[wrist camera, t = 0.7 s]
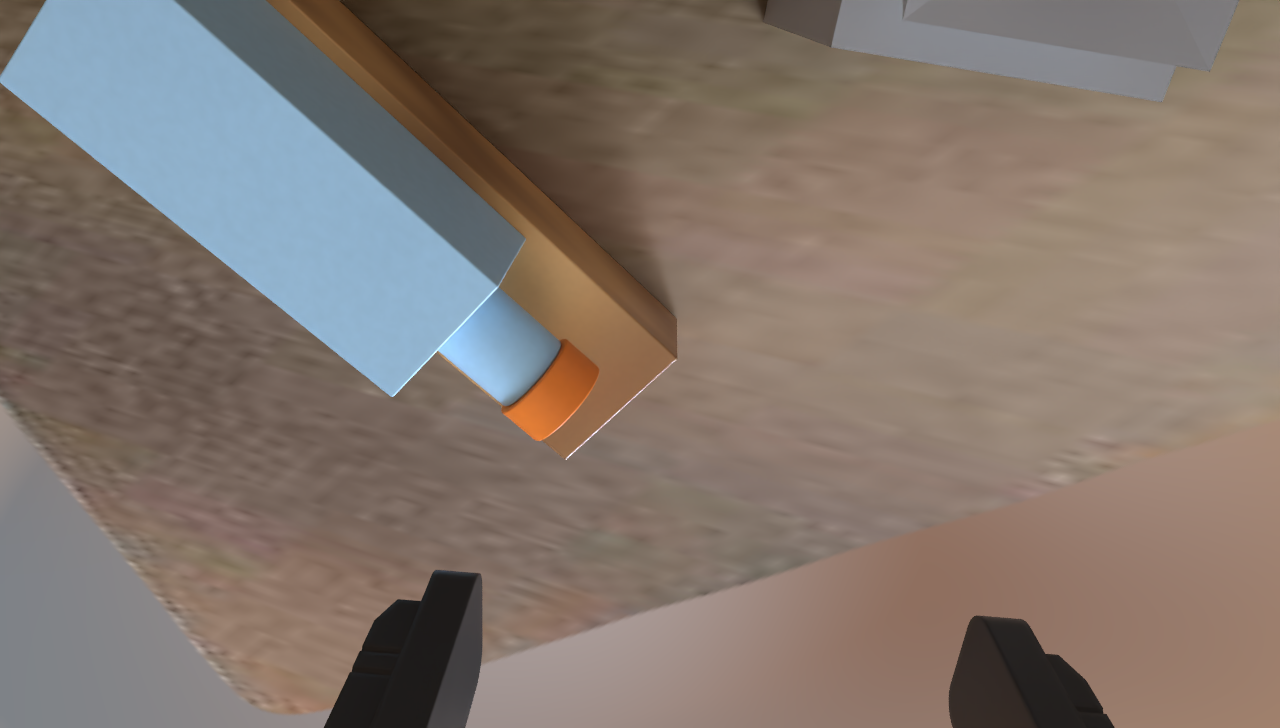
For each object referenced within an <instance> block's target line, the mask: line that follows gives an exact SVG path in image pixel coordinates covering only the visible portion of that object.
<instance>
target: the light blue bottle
mask: <svg viewBox="0 0 1280 728" xmlns="http://www.w3.org/2000/svg"><path fill="white" fill-rule="evenodd" d="M0 83H1V84H3V85H4V86H5V87H6V88H8V89H9V90H10V91H11V92H13V93H14V94H15V95H16V96H17V97H19V98H20V99H21V100H22V101H24V102H25V103H26V104H27V105H29V106H30V107H31V108H32V109H34V110H35V111H36V112H37V113H39V114H40V115H41V116H42V117H44V118H45V119H46V120H47V121H49V122H50V123H51V124H52V125H54V126H55V127H56V128H57V129H59V130H60V131H61V132H62V133H64V134H65V135H66V136H67V137H69V138H70V139H71V140H72V141H73V142H75V143H76V144H77V145H78V146H80V147H81V148H82V149H83V150H85V151H86V152H87V153H88V154H90V155H91V156H92V157H93V158H95V159H96V160H97V161H98V162H100V163H101V164H102V165H103V166H105V167H106V168H107V169H108V170H110V171H111V172H112V173H113V174H115V175H116V176H117V177H118V178H120V179H121V180H122V181H123V182H124V183H126V184H127V185H128V186H129V187H131V188H132V189H133V190H134V191H136V192H137V193H138V194H139V195H141V196H142V197H143V198H144V199H146V200H147V201H148V202H149V203H151V204H152V205H153V206H154V207H156V208H157V209H158V210H159V211H161V212H162V213H163V214H164V215H166V216H167V217H168V218H169V219H171V220H172V221H173V222H174V223H176V224H177V225H178V226H179V227H180V228H182V229H183V230H184V231H185V232H187V233H188V234H189V235H190V236H192V237H193V238H194V239H195V240H197V241H198V242H199V243H200V244H202V245H203V246H204V247H205V248H207V249H208V250H209V251H210V252H212V253H213V254H214V255H215V256H217V257H218V258H219V259H220V260H222V261H223V262H224V263H225V264H227V265H228V266H229V267H230V268H232V269H233V270H234V271H235V272H236V273H238V274H239V275H240V276H241V277H243V278H244V279H245V280H246V281H248V282H249V283H250V284H251V285H253V286H254V287H255V288H256V289H258V290H259V291H260V292H261V293H263V294H264V295H265V296H266V297H268V298H269V299H270V300H271V301H273V302H274V303H275V304H276V305H278V306H279V307H280V308H281V309H283V310H284V311H285V312H286V313H288V314H289V315H290V316H291V317H292V318H294V319H295V320H296V321H297V322H299V323H300V324H301V325H302V326H304V327H305V328H306V329H307V330H309V331H310V332H311V333H312V334H314V335H315V336H316V337H317V338H319V339H320V340H321V341H322V342H324V343H325V344H326V345H327V346H329V347H330V348H331V349H332V350H334V351H335V352H336V353H337V354H339V355H340V356H341V357H342V358H343V359H345V360H346V361H347V362H348V363H350V364H351V365H352V366H353V367H355V368H356V369H357V370H358V371H360V372H361V373H362V374H363V375H365V376H366V377H367V378H368V379H370V380H371V381H372V382H373V383H375V384H376V385H377V386H378V387H380V388H381V389H382V390H383V391H385V392H386V393H387V394H388V395H390V396H391V397H393V396H394V395H395V394H396V393H397V392H398V391H399V390H400V389H401V388H402V387H403V386H404V385H405V384H406V383H407V382H408V381H409V380H410V379H411V378H412V377H413V376H414V375H415V374H416V373H417V371H418V370H419V369H420V368H421V367H422V366H423V365H424V364H425V363H426V362H427V361H428V360H429V359H430V358H431V357H432V356H433V355H434V354H435V353H436V352H437V351H439V352H440V353H441V354H442V355H444V356H445V357H446V358H447V359H448V360H450V361H451V362H452V363H453V364H454V365H456V366H457V367H458V368H459V369H460V370H462V371H463V372H464V373H465V374H466V375H468V376H469V377H470V378H471V379H472V380H474V381H475V382H476V383H477V384H478V385H479V386H481V387H482V388H483V389H484V390H485V391H487V392H488V393H489V394H490V395H491V396H493V397H494V398H495V399H496V400H497V401H499V402H500V403H501V404H502V405H503V406H502V413H503V414H504V415H506V416H507V417H508V418H509V419H510V420H512V421H513V422H514V423H515V424H516V425H518V426H519V427H520V428H521V429H522V430H524V431H525V432H526V433H527V434H528V435H530V436H531V437H532V438H533V439H534V440H537V441H540V440H543V439H545V438H546V437H548V436H550V435H551V434H552V433H554V432H555V431H556V430H557V429H558V428H560V427H561V426H562V425H563V424H564V423H565V422H566V421H567V420H568V419H569V418H570V417H571V416H572V415H573V414H574V412H575V411H576V410H577V409H578V408H579V407H580V405H581V404H582V403H583V401H584V400H585V399H586V397H587V396H588V394H589V393H590V391H591V390H592V388H593V386H594V385H595V383H596V381H597V378H598V376H599V368H598V366H597V365H595V364H594V363H593V362H592V361H591V360H590V359H589V358H588V357H586V356H585V355H584V354H583V353H582V352H581V351H580V350H579V349H577V348H576V347H575V346H574V345H573V344H572V343H571V342H570V341H568V340H567V339H561V340H558V339H557V338H556V337H555V336H554V335H552V334H551V333H550V332H549V331H548V330H547V329H546V328H545V327H543V326H542V325H541V324H540V323H539V322H538V321H537V320H536V319H534V318H533V317H532V316H531V315H530V314H529V313H528V312H526V311H525V310H524V309H523V308H522V307H521V306H520V305H519V304H517V303H516V302H515V301H514V300H513V299H512V298H511V297H510V296H508V295H507V294H506V293H505V292H504V291H503V290H502V289H500V288H499V285H500V283H501V282H502V280H503V278H504V277H505V275H506V273H507V271H508V270H509V268H510V266H511V264H512V263H513V261H514V259H515V258H516V256H517V254H518V252H519V251H520V249H521V247H522V246H523V244H524V242H525V240H526V238H525V237H524V236H523V235H522V234H521V233H519V232H518V231H517V230H516V229H515V228H514V227H513V226H512V225H511V224H510V223H509V222H507V221H506V220H505V219H504V218H503V217H502V216H501V215H500V214H499V213H498V212H496V211H495V210H494V209H493V208H492V207H491V206H490V205H489V204H488V203H487V202H486V201H484V200H483V199H482V198H481V197H480V196H479V195H478V194H477V193H476V192H475V191H474V190H472V189H471V188H470V187H469V186H468V185H467V184H466V183H465V182H464V181H463V180H462V179H460V178H459V177H458V176H457V175H456V174H455V173H454V172H453V171H452V170H451V169H450V168H448V167H447V166H446V165H445V164H444V163H443V162H442V161H441V160H440V159H439V158H438V157H436V156H435V155H434V154H433V153H432V152H431V151H430V150H429V149H428V148H427V147H426V146H424V145H423V144H422V143H421V142H420V141H419V140H418V139H417V138H416V137H415V136H413V135H412V134H411V133H410V132H409V131H408V130H407V129H406V128H405V127H404V126H403V125H401V124H400V123H399V122H398V121H397V120H396V119H395V118H394V117H393V116H392V115H391V114H389V113H388V112H387V111H386V110H385V109H384V108H383V107H382V106H381V105H380V104H379V103H377V102H376V101H375V100H374V99H373V98H372V97H371V96H370V95H369V94H368V93H367V92H365V91H364V90H363V89H362V88H361V87H360V86H359V85H358V84H357V83H356V82H355V81H353V80H352V79H351V78H350V77H349V76H348V75H347V74H346V73H345V72H344V71H343V70H341V69H340V68H339V67H338V66H337V65H336V64H335V63H334V62H333V61H332V60H330V59H329V58H328V57H327V56H326V55H325V54H324V53H323V52H322V51H321V50H320V49H318V48H317V47H316V46H315V45H314V44H313V43H312V42H311V41H310V40H309V39H308V38H306V37H305V36H304V35H303V34H302V33H301V32H300V31H299V30H298V29H297V28H296V27H294V26H293V25H292V24H291V23H290V22H289V21H288V20H287V19H286V18H285V17H284V16H282V15H281V14H280V13H279V12H278V11H277V10H276V9H275V8H274V7H273V6H272V5H270V4H269V3H268V2H267V1H266V0H46V1H45V3H44V5H43V6H42V8H41V10H40V11H39V13H38V14H37V16H36V18H35V19H34V21H33V23H32V24H31V26H30V28H29V29H28V31H27V33H26V34H25V36H24V37H23V39H22V41H21V42H20V44H19V46H18V47H17V49H16V51H15V52H14V54H13V56H12V57H11V59H10V61H9V62H8V64H7V65H6V67H5V69H4V70H3V72H2V74H1V75H0Z"/></svg>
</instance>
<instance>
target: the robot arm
mask: <svg viewBox="0 0 1280 728" xmlns="http://www.w3.org/2000/svg"><path fill="white" fill-rule="evenodd" d="M481 658H482V577H481V574H480V573H468V572H456V571H444V570H435V571H434V572H433V574H432V576H431V578H430V581H429V583H428V586H427V588H426V591H425V593H424V596H423V598H422V600H421V601H412V600H399V599H398V600H397V601H396V602H394V603H393V604H392V605H391V606H390V607H389V608H388V609H387V610H386V611H384V612H383V613H382V614H381V615H380V616H379V617H378V618H377V619H376V620H374V623H373V625H372V627H371V629H370V631H369V633H368V635H367V637H366V639H365V642H364V644H363V646H362V651H360V652H359V654H358V656H357V659H356V661H355V663H354V665H353V668H352V672H350V673H349V675H348V678H347V680H346V682H345V684H344V686H343V688H342V690H341V692H340V695H339V697H338V699H337V701H336V703H335V705H334V707H333V709H332V712H331V714H330V716H329V718H328V720H327V722H326V724H325V726H324V728H465V726H466V723H467V719H468V715H469V712H470V708H471V705H472V701H473V697H474V694H475V691H476V687H477V683H478V678H479V673H480V666H481ZM949 712H950V719H951V723H952V726H953V728H1114V726H1113V724H1112V723H1111V721H1110V719H1109V718H1108V716H1107V714H1103V708H1102V706H1101V704H1100V703H1099V701H1098V699H1097V698H1096V696H1095V694H1094V693H1093V691H1092V689H1091V688H1090V686H1089V685H1088V683H1087V681H1086V680H1085V679H1084V678H1083V677H1082V676H1081V675H1080V674H1078V673H1077V672H1076V671H1075V670H1074V669H1073V668H1072V667H1071V666H1070V665H1069V664H1068V663H1067V662H1065V661H1064V660H1063V659H1062V658H1061V657H1060V656H1059V655H1052V654H1045V653H1044V651H1043V649H1042V648H1041V645H1040V644H1039V642H1038V640H1037V638H1036V637H1035V635H1034V633H1033V631H1032V630H1031V628H1030V626H1029V625H1028V624H1027V622H1026V621H1024V620H1022V619H1011V618H1000V617H988V616H974V617H973V618H972V619H971V621H970V622H969V625H968V628H967V632H966V635H965V638H964V641H963V645H962V648H961V651H960V655H959V658H958V661H957V665H956V668H955V672H954V675H953V678H952V682H951V685H950V690H949Z"/></svg>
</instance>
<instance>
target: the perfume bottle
mask: <svg viewBox="0 0 1280 728" xmlns="http://www.w3.org/2000/svg"><path fill="white" fill-rule="evenodd" d="M1238 2H1239V0H768V1H767V6H766V12H765V17H764V23H767V24H770V25H772V26H775V27H778V28H780V29H783V30H786V31H789V32H791V33H794V34H797V35H799V36H802V37H805V38H808V39H810V40H813V41H816V42H819V43H821V44H824V45H827V46H829V47H833V48H839V49H845V50H852V51H858V52H864V53H870V54H876V55H882V56H888V57H894V58H900V59H906V60H912V61H918V62H924V63H930V64H936V65H942V66H948V67H954V68H960V69H966V70H972V71H978V72H984V73H990V74H996V75H1002V76H1008V77H1014V78H1020V79H1026V80H1032V81H1038V82H1044V83H1050V84H1056V85H1062V86H1068V87H1074V88H1080V89H1086V90H1092V91H1098V92H1104V93H1110V94H1116V95H1122V96H1128V97H1134V98H1140V99H1146V100H1152V101H1158V102H1162V101H1163V99H1164V96H1165V93H1166V91H1167V88H1168V86H1169V83H1170V81H1171V78H1172V76H1173V73H1174V71H1175V68H1176V66H1179V67H1185V68H1191V69H1197V70H1203V71H1209V72H1210V70H1211V68H1212V65H1213V63H1214V60H1215V58H1216V55H1217V53H1218V51H1219V48H1220V46H1221V43H1222V41H1223V38H1224V36H1225V34H1226V31H1227V29H1228V26H1229V24H1230V21H1231V19H1232V17H1233V14H1234V12H1235V9H1236V7H1237V4H1238Z"/></svg>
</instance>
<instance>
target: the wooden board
mask: <svg viewBox="0 0 1280 728" xmlns="http://www.w3.org/2000/svg"><path fill="white" fill-rule="evenodd" d="M266 1H267V2H268V3H269V4H270V5H272V6H273V7H274V8H275V9H276V10H277V11H278V12H279V13H280V14H281V15H282V16H284V17H285V18H286V19H287V20H288V21H289V22H290V23H291V24H292V25H293V26H294V27H296V28H297V29H298V30H299V31H300V32H301V33H302V34H303V35H304V36H305V37H306V38H308V39H309V40H310V41H311V42H312V43H313V44H314V45H315V46H316V47H317V48H318V49H320V50H321V51H322V52H323V53H324V54H325V55H326V56H327V57H328V58H329V59H330V60H332V61H333V62H334V63H335V64H336V65H337V66H338V67H339V68H340V69H341V70H343V71H344V72H345V73H346V74H347V75H348V76H349V77H350V78H351V79H352V80H353V81H355V82H356V83H357V84H358V85H359V86H360V87H361V88H362V89H363V90H364V91H365V92H367V93H368V94H369V95H370V96H371V97H372V98H373V99H374V100H375V101H376V102H377V103H379V104H380V105H381V106H382V107H383V108H384V109H385V110H386V111H387V112H388V113H389V114H391V115H392V116H393V117H394V118H395V119H396V120H397V121H398V122H399V123H400V124H401V125H403V126H404V127H405V128H406V129H407V130H408V131H409V132H410V133H411V134H412V135H413V136H415V137H416V138H417V139H418V140H419V141H420V142H421V143H422V144H423V145H424V146H426V147H427V148H428V149H429V150H430V151H431V152H432V153H433V154H434V155H435V156H436V157H438V158H439V159H440V160H441V161H442V162H443V163H444V164H445V165H446V166H447V167H448V168H450V169H451V170H452V171H453V172H454V173H455V174H456V175H457V176H458V177H459V178H460V179H462V180H463V181H464V182H465V183H466V184H467V185H468V186H469V187H470V188H471V189H472V190H474V191H475V192H476V193H477V194H478V195H479V196H480V197H481V198H482V199H483V200H484V201H486V202H487V203H488V204H489V205H490V206H491V207H492V208H493V209H494V210H495V211H496V212H498V213H499V214H500V215H501V216H502V217H503V218H504V219H505V220H506V221H507V222H509V223H510V224H511V225H512V226H513V227H514V228H515V229H516V230H517V231H518V232H519V233H521V234H522V235H523V236H524V237H525V238H526V240H525V242H524V244H523V246H522V247H521V249H520V251H519V252H518V254H517V256H516V258H515V259H514V261H513V263H512V264H511V266H510V268H509V270H508V271H507V273H506V275H505V277H504V278H503V280H502V282H501V283H500V285H499V288H500V289H502V290H503V291H504V292H505V293H506V294H507V295H508V296H510V297H511V298H512V299H513V300H514V301H515V302H516V303H517V304H519V305H520V306H521V307H522V308H523V309H524V310H525V311H526V312H528V313H529V314H530V315H531V316H532V317H533V318H534V319H536V320H537V321H538V322H539V323H540V324H541V325H542V326H543V327H545V328H546V329H547V330H548V331H549V332H550V333H551V334H552V335H554V336H555V337H556V338H557V339H558V340H561V339H567V340H568V341H570V342H571V343H572V344H573V345H574V346H575V347H576V348H577V349H579V350H580V351H581V352H582V353H583V354H584V355H585V356H586V357H588V358H589V359H590V360H591V361H592V362H593V363H594V364H595V365H597V366H598V368H599V376H598V378H597V381H596V383H595V385H594V386H593V388H592V390H591V391H590V393H589V394H588V396H587V397H586V399H585V400H584V401H583V403H582V404H581V405H580V407H579V408H578V409H577V410H576V411H575V412H574V414H573V415H572V416H571V417H570V418H569V419H568V420H567V421H566V422H565V423H564V424H563V425H562V426H561V427H560V428H558V429H557V430H556V431H555V432H554V433H552V434H551V435H550V436H548V437H546V438H545V439H543V440H542V441H543V442H545V443H546V444H547V445H548V446H549V447H551V448H552V449H553V450H554V451H555V452H557V453H558V454H559V455H560V456H561V457H563V458H564V459H567V458H568V457H570V456H571V455H572V454H573V453H574V452H575V451H576V450H577V449H578V448H580V447H581V446H582V445H583V444H584V443H585V442H586V441H587V440H588V439H590V438H591V437H592V436H593V435H594V434H595V433H596V432H597V431H598V430H599V429H601V428H602V427H603V426H604V425H605V424H606V423H607V422H608V421H609V420H611V419H612V418H613V417H614V416H615V415H616V414H617V413H618V412H619V411H621V410H622V409H623V408H624V407H625V406H626V405H627V404H628V403H629V402H630V401H632V400H633V399H634V398H635V397H636V396H637V395H638V394H639V393H640V392H642V391H643V390H644V389H645V388H646V387H647V386H648V385H649V384H650V383H652V382H653V381H654V380H655V379H656V378H657V377H658V376H659V375H660V374H661V373H663V372H664V371H665V370H666V369H667V368H668V367H669V366H670V365H671V364H673V363H674V362H675V361H676V360H677V319H676V317H675V316H674V315H672V314H671V313H670V312H669V311H668V310H667V309H666V308H665V307H664V306H663V305H662V304H661V303H660V302H659V301H658V300H657V299H655V298H654V297H653V296H652V295H651V294H650V293H649V292H648V291H647V290H646V289H645V288H644V287H643V286H642V285H641V284H640V283H638V282H637V281H636V280H635V279H634V278H633V277H632V276H631V275H630V274H629V273H628V272H627V271H626V270H625V269H624V268H623V267H621V266H620V265H619V264H618V263H617V262H616V261H615V260H614V259H613V258H612V257H611V256H610V255H609V254H608V253H607V252H606V251H605V250H603V249H602V248H601V247H600V246H599V245H598V244H597V243H596V242H595V241H594V240H593V239H592V238H591V237H590V236H589V235H588V234H586V233H585V232H584V231H583V230H582V229H581V228H580V227H579V226H578V225H577V224H576V223H575V222H574V221H573V220H572V219H571V218H569V217H568V216H567V215H566V214H565V213H564V212H563V211H562V210H561V209H560V208H559V207H558V206H557V205H556V204H555V203H554V202H552V201H551V200H550V199H549V198H548V197H547V196H546V195H545V194H544V193H543V192H542V191H541V190H540V189H539V188H538V187H537V186H535V185H534V184H533V183H532V182H531V181H530V180H529V179H528V178H527V177H526V176H525V175H524V174H523V173H522V172H521V171H520V170H518V169H517V168H516V167H515V166H514V165H513V164H512V163H511V162H510V161H509V160H508V159H507V158H506V157H505V156H504V155H503V154H502V153H500V152H499V151H498V150H497V149H496V148H495V147H494V146H493V145H492V144H491V143H490V142H489V141H488V140H487V139H486V138H485V137H483V136H482V135H481V134H480V133H479V132H478V131H477V130H476V129H475V128H474V127H473V126H472V125H471V124H470V123H469V122H468V121H466V120H465V119H464V118H463V117H462V116H461V115H460V114H459V113H458V112H457V111H456V110H455V109H454V108H453V107H452V106H451V105H449V104H448V103H447V102H446V101H445V100H444V99H443V98H442V97H441V96H440V95H439V94H438V93H437V92H436V91H435V90H434V89H432V88H431V87H430V86H429V85H428V84H427V83H426V82H425V81H424V80H423V79H422V78H421V77H420V76H419V75H418V74H417V73H415V72H414V71H413V70H412V69H411V68H410V67H409V66H408V65H407V64H406V63H405V62H404V61H403V60H402V59H401V58H400V57H398V56H397V55H396V54H395V53H394V52H393V51H392V50H391V49H390V48H389V47H388V46H387V45H386V44H385V43H384V42H383V41H382V40H380V39H379V38H378V37H377V36H376V35H375V34H374V33H373V32H372V31H371V30H370V29H369V28H368V27H367V26H366V25H365V24H363V23H362V22H361V21H360V20H359V19H358V18H357V17H356V16H355V15H354V14H353V13H352V12H351V11H350V10H349V9H348V8H346V7H345V6H344V5H343V4H342V3H341V2H340V1H339V0H266ZM437 353H438V354H439V355H441V356H442V357H443V358H444V359H445V360H447V361H448V362H449V363H450V364H451V365H453V366H454V367H455V368H456V369H457V370H459V371H460V372H461V373H462V374H463V375H465V376H466V377H467V378H468V379H469V380H471V381H472V382H473V383H474V384H475V385H477V386H478V387H479V388H480V389H481V390H482V391H484V392H485V393H486V394H487V395H488V396H490V397H491V398H492V399H493V400H494V401H496V402H497V403H498V404H499V405H500V406H503V405H502V404H501V403H500V402H499V401H497V400H496V399H495V398H494V397H493V396H491V395H490V394H489V393H488V392H487V391H485V390H484V389H483V388H482V387H481V386H479V385H478V384H477V383H476V382H475V381H474V380H472V379H471V378H470V377H469V376H468V375H466V374H465V373H464V372H463V371H462V370H460V369H459V368H458V367H457V366H456V365H454V364H453V363H452V362H451V361H450V360H448V359H447V358H446V357H445V356H444V355H442V354H441V353H440V352H439V351H437Z"/></svg>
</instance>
